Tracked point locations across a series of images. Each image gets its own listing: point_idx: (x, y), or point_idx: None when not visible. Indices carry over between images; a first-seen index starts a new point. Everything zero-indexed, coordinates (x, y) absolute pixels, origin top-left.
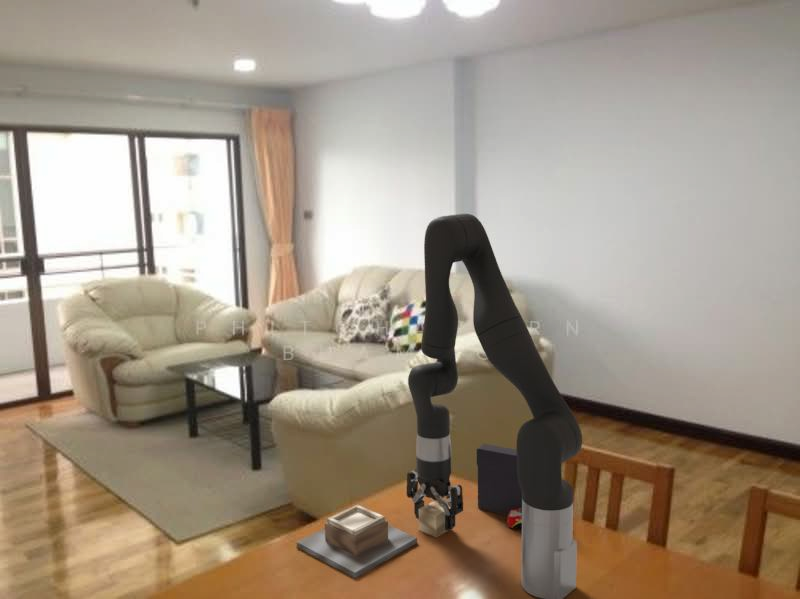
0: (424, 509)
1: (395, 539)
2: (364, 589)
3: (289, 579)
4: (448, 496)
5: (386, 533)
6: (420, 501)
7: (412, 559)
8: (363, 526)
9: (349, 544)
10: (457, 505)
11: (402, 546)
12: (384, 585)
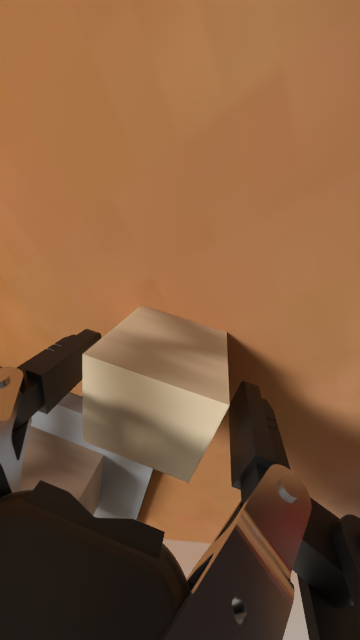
0: (106, 440)
1: (119, 456)
2: (165, 535)
3: None
4: (237, 619)
5: (93, 475)
6: (37, 397)
7: (192, 479)
8: None
9: None
10: (351, 594)
11: (151, 472)
12: (187, 531)
